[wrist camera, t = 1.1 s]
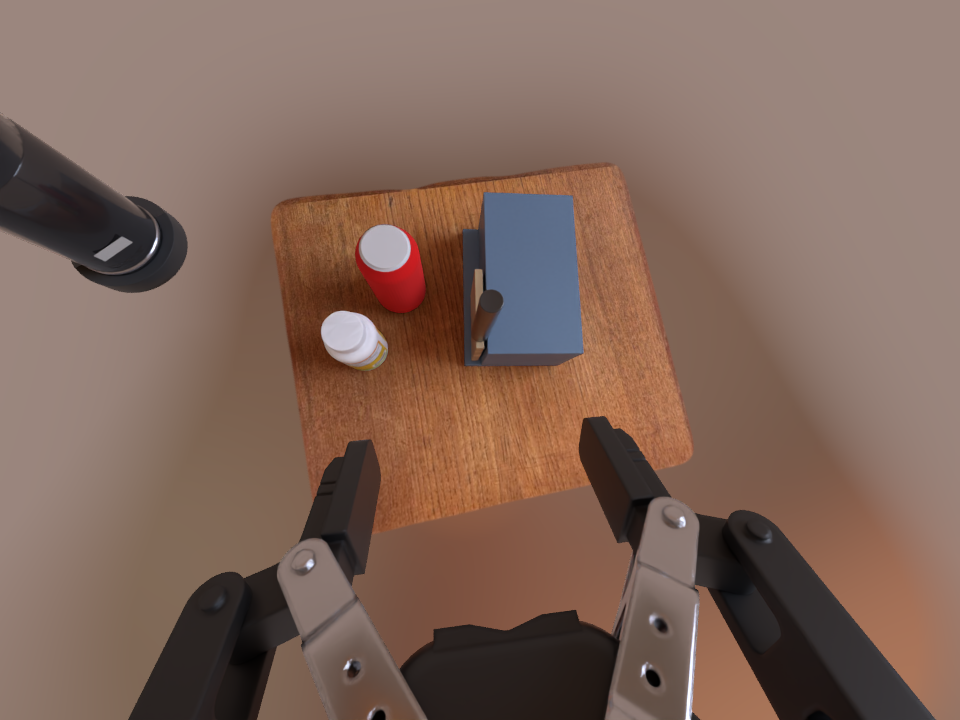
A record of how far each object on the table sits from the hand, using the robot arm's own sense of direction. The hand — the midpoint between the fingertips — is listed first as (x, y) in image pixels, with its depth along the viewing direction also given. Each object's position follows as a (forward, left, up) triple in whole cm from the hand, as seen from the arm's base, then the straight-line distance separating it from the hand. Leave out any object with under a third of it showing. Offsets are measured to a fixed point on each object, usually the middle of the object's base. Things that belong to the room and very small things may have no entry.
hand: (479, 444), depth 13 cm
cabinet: (-7, +16, -29) cm, 34 cm away
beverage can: (-17, +5, -29) cm, 35 cm away
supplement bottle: (-14, -3, -29) cm, 33 cm away
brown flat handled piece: (-8, +9, -28) cm, 30 cm away
